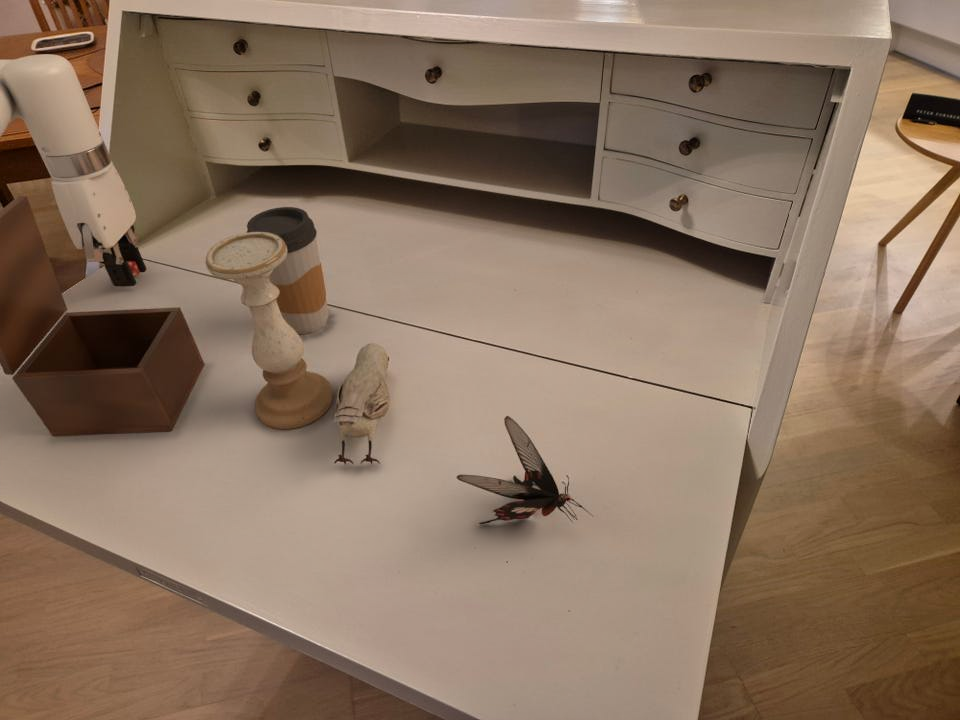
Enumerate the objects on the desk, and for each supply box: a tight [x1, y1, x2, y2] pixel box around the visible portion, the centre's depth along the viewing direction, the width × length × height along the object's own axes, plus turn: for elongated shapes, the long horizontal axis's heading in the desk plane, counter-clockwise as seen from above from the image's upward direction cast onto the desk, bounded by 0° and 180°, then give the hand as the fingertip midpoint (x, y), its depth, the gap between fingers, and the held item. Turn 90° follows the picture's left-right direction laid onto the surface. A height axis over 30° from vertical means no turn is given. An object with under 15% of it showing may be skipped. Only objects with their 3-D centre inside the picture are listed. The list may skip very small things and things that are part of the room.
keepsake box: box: [11, 306, 205, 437], centre depth 73 cm, size 14×12×9 cm
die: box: [127, 261, 141, 278], centre depth 94 cm, size 3×3×3 cm
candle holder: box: [204, 232, 334, 430], centre depth 67 cm, size 9×9×20 cm
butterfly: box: [456, 415, 595, 525], centre depth 58 cm, size 11×8×10 cm
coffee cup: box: [246, 206, 330, 335], centre depth 81 cm, size 8×8×15 cm
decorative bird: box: [332, 342, 391, 466], centre depth 69 cm, size 5×16×8 cm, turn 178°
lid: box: [0, 195, 68, 376], centre depth 65 cm, size 14×12×1 cm
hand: (130, 277), depth 95 cm, fingers closed on die, 3 cm apart
